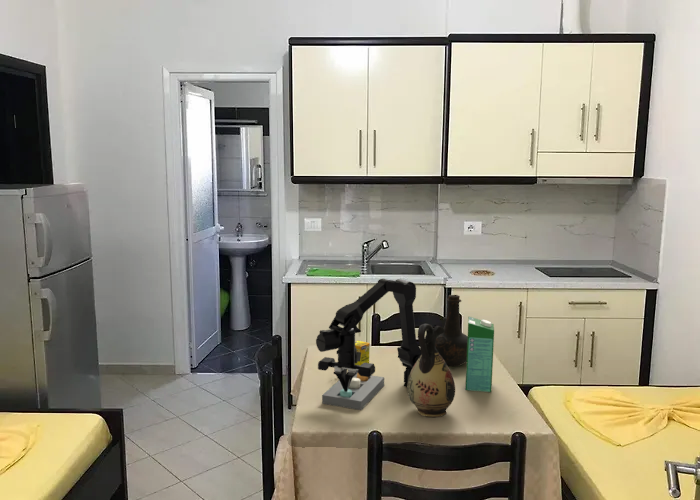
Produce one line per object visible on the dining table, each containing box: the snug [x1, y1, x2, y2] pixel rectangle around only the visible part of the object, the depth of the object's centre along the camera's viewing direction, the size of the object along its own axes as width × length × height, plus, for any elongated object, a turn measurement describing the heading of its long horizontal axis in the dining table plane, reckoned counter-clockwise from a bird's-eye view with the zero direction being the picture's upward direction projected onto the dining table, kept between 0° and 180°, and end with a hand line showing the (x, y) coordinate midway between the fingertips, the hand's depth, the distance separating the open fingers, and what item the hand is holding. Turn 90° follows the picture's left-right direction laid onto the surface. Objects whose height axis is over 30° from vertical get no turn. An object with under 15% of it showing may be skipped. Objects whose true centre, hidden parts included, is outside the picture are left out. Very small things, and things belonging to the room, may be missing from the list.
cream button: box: [349, 378, 360, 389], centre depth 210 cm, size 4×4×3 cm
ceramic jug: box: [406, 323, 456, 418], centre depth 194 cm, size 17×15×30 cm
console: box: [321, 374, 385, 411], centre depth 210 cm, size 14×24×3 cm, turn 158°
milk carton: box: [465, 316, 495, 393], centre depth 217 cm, size 9×9×25 cm
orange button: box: [357, 373, 368, 381], centre depth 217 cm, size 4×4×3 cm
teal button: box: [340, 389, 352, 398], centre depth 203 cm, size 4×4×3 cm
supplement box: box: [355, 340, 371, 366], centre depth 234 cm, size 6×6×11 cm
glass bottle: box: [435, 294, 468, 367], centre depth 242 cm, size 18×18×28 cm
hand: (346, 391), depth 203 cm, fingers closed, pressing on teal button
